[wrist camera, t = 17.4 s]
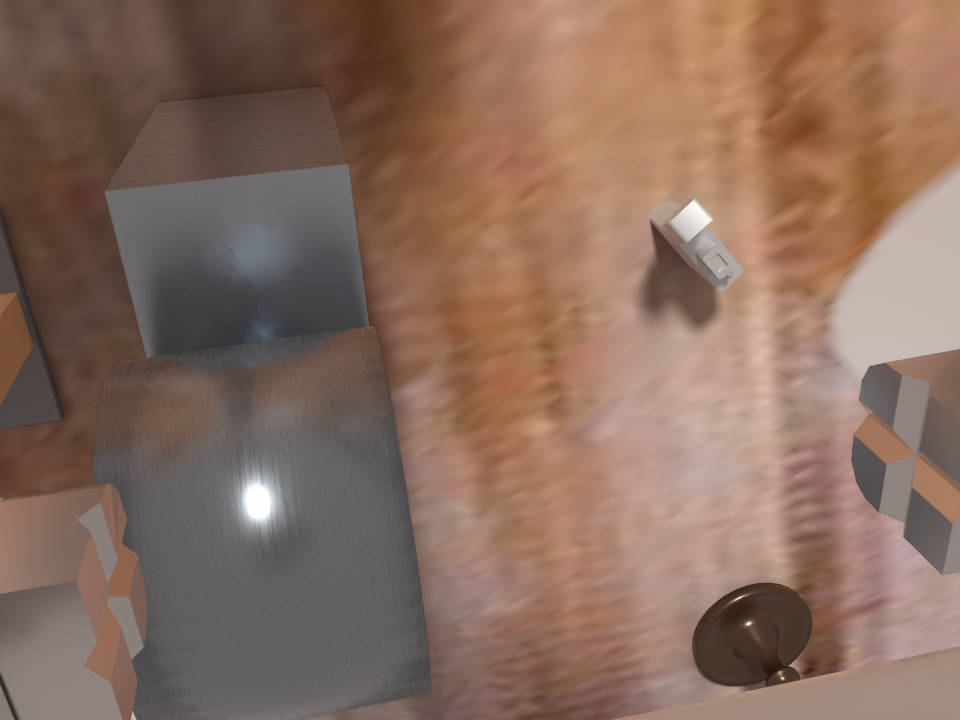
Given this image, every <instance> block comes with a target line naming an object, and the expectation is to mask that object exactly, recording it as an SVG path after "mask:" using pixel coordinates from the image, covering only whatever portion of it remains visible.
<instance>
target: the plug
mask: <svg viewBox="0 0 960 720" xmlns="http://www.w3.org/2000/svg"><path fill="white" fill-rule="evenodd" d="M32 347H33V342H32V339H31V336H30V333H29V330H28V327H27V323H26V320H25V317H24V314H23V311H22V308H21V304H20V301H19V298H18V295H17V292H15V293H7V294H0V405H1V403H2V401H3V400H4V398H5V396H6V394H7V392H8V391H9V389H10V387H11V385H12V383H13V382H14V380H15V378H16V376H17V374H18V373H19V371H20V369H21V367H22V365H23V364H24V362H25V360H26V358H27V356H28V355H29V353H30V351H31V349H32Z"/></svg>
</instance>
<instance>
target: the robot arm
mask: <svg viewBox="0 0 960 720" xmlns="http://www.w3.org/2000/svg"><path fill="white" fill-rule="evenodd" d="M859 401H860V402H861V404H862V405H863V407H864V408H865V410H866V411H867V413H868V414H869V415H868V417H867V418H866V419H865V421H864V422H863V423H862V424H861V426H860V427H859V428H858V430H857V431H856V432H855V434H854V438H853V448H852V458H851V461H852V465H853V469H854V473H855V478H856V482H857V484H858V486H859V488H860V490H861V491H862V493H863V495H864V497H865V499H866V500H867V501H868V502H869V503H870V504H871V505H872V506H873V507H874V508H875V509H876V510H877V511H878V512H879V513H881V514H884V515H886V516H889V517H891V518H894V519H897V520H899V521H902V522H904V535H903V537H904V538H905V539H906V540H907V541H908V542H909V543H910V544H911V545H912V546H913V547H914V548H915V549H916V550H917V551H918V552H919V553H920V554H921V555H922V556H923V557H924V558H925V559H926V560H927V561H928V562H929V563H930V564H931V565H932V566H934V567H935V568H936V569H937V570H938V571H939V572H940V573H941V574H942V575H947V574H953V573H959V572H960V349H957V350H952V351H947V352H941V353H936V354H930V355H925V356H920V357H914V358H909V359H903V360H898V361H893V362H887V363H882V364H877V365H873V366H869V368H868V370H867V372H866V374H865V376H864V378H863V379H862V384H861V390H860V397H859ZM126 521H127V517H126V514H125V511H124V508H123V505H122V502H121V499H120V496H119V492H118V491H117V490H116V488H115V487H114V486H113V485H112V484H111V483H106V484H99V485H91V486H84V487H77V488H70V489H62V490H55V491H48V492H41V493H33V494H26V495H19V496H12V497H7V498H5V499H4V498H0V720H131V715H132V709H133V704H134V698H135V693H136V688H137V682H138V681H137V677H136V674H135V671H134V667H133V664H132V661H131V660H132V659H133V658H134V657H135V656H136V655H137V654H138V653H139V652H140V651H141V650H142V649H143V647H144V642H145V636H146V629H147V597H146V591H145V584H144V578H143V573H142V570H141V566H140V562H139V559H138V555H137V554H136V553H134V552H133V551H131V550H130V549H129V548H127V547H126V546H124V545H123V544H122V539H123V534H124V530H125V526H126ZM613 720H960V647H955V648H950V649H945V650H941V651H936V652H931V653H926V654H922V655H917V656H912V657H907V658H903V659H898V660H893V661H888V662H884V663H879V664H874V665H869V666H865V667H860V668H855V669H850V670H846V671H841V672H836V673H831V674H827V675H822V676H817V677H813V678H808V679H803V680H799V681H794V682H789V683H784V684H780V685H775V686H770V687H766V688H761V689H756V690H751V691H747V692H742V693H737V694H732V695H727V696H723V697H718V698H713V699H708V700H704V701H699V702H694V703H689V704H685V705H680V706H675V707H670V708H666V709H661V710H656V711H651V712H647V713H642V714H637V715H632V716H628V717H623V718H618V719H613Z"/></svg>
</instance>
